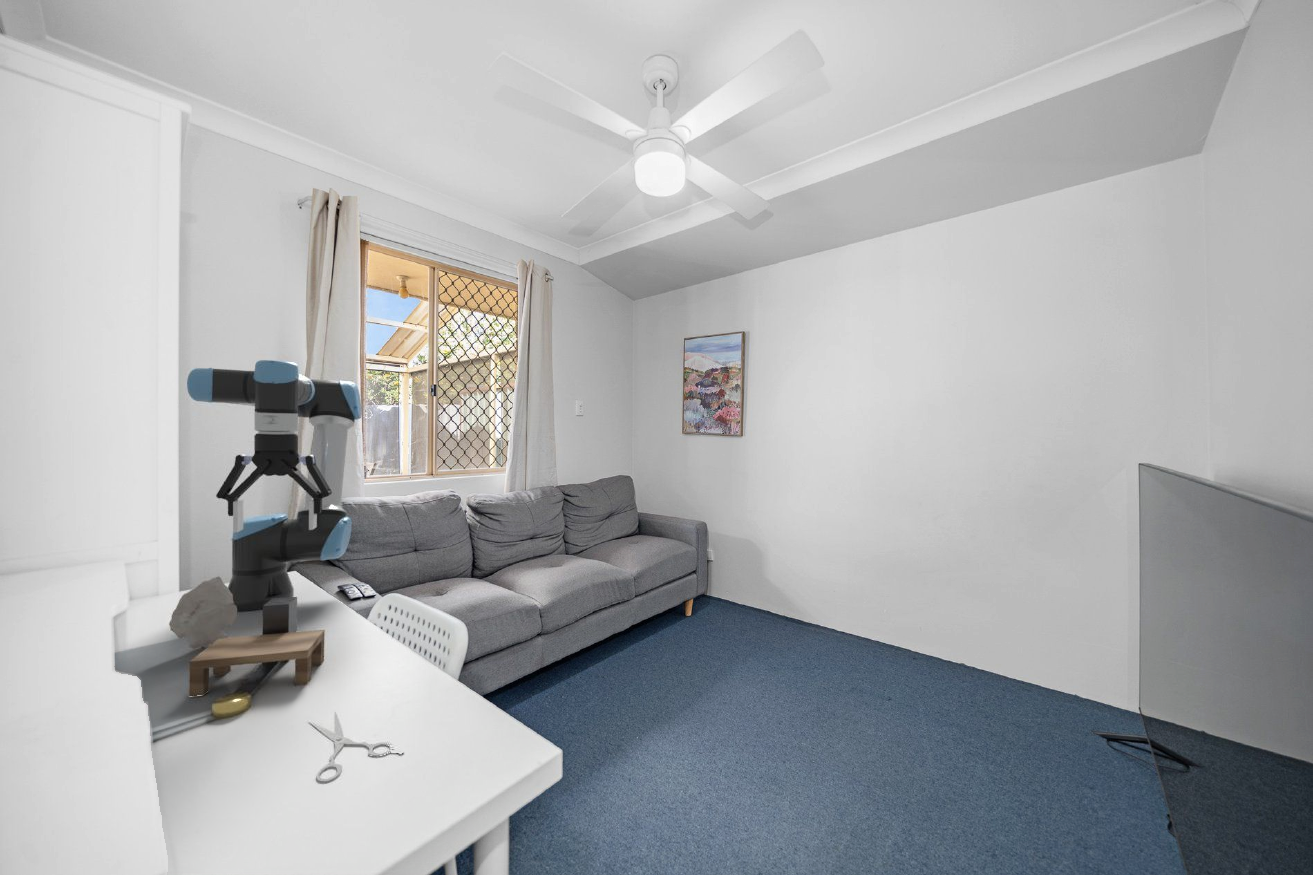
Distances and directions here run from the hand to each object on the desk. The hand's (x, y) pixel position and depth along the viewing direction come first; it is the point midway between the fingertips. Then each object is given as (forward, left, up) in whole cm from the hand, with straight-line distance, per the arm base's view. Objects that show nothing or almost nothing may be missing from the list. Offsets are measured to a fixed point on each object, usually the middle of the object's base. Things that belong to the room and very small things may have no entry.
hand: (276, 529), depth 109 cm
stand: (+15, +3, -26) cm, 30 cm away
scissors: (+41, +23, -27) cm, 54 cm away
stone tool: (-3, -14, -26) cm, 30 cm away
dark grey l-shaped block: (+14, +3, -26) cm, 29 cm away
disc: (+26, +3, -26) cm, 37 cm away
